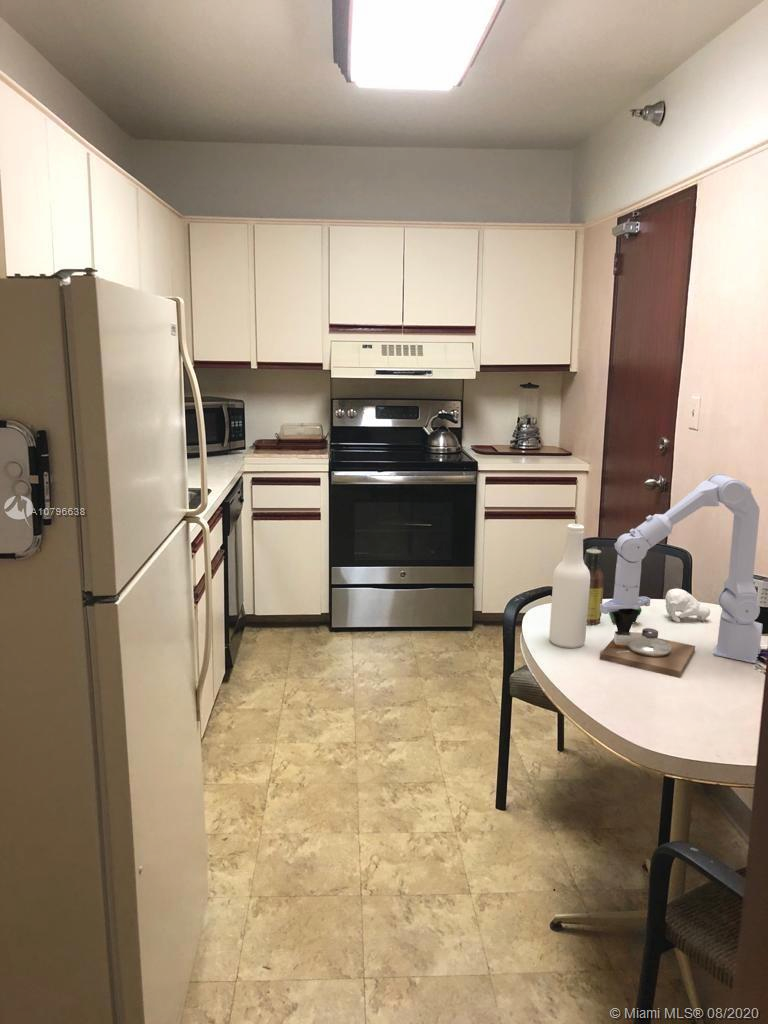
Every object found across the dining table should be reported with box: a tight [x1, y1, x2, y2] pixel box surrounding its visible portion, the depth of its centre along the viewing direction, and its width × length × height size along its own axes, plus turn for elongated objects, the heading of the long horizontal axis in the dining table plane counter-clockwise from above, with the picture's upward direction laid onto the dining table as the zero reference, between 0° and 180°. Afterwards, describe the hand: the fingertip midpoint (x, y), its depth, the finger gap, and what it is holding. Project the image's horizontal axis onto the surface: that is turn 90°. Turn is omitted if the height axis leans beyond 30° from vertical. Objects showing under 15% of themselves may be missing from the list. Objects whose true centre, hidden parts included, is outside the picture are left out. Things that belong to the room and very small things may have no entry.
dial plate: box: [599, 637, 696, 678], centre depth 180 cm, size 18×18×2 cm
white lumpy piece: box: [665, 588, 711, 623], centre depth 204 cm, size 6×8×12 cm
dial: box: [613, 627, 671, 657], centre depth 179 cm, size 13×10×4 cm
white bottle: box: [548, 523, 590, 649], centre depth 184 cm, size 9×9×30 cm
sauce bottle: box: [584, 548, 605, 625], centre depth 200 cm, size 7×6×20 cm
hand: (622, 637), depth 183 cm, fingers closed
